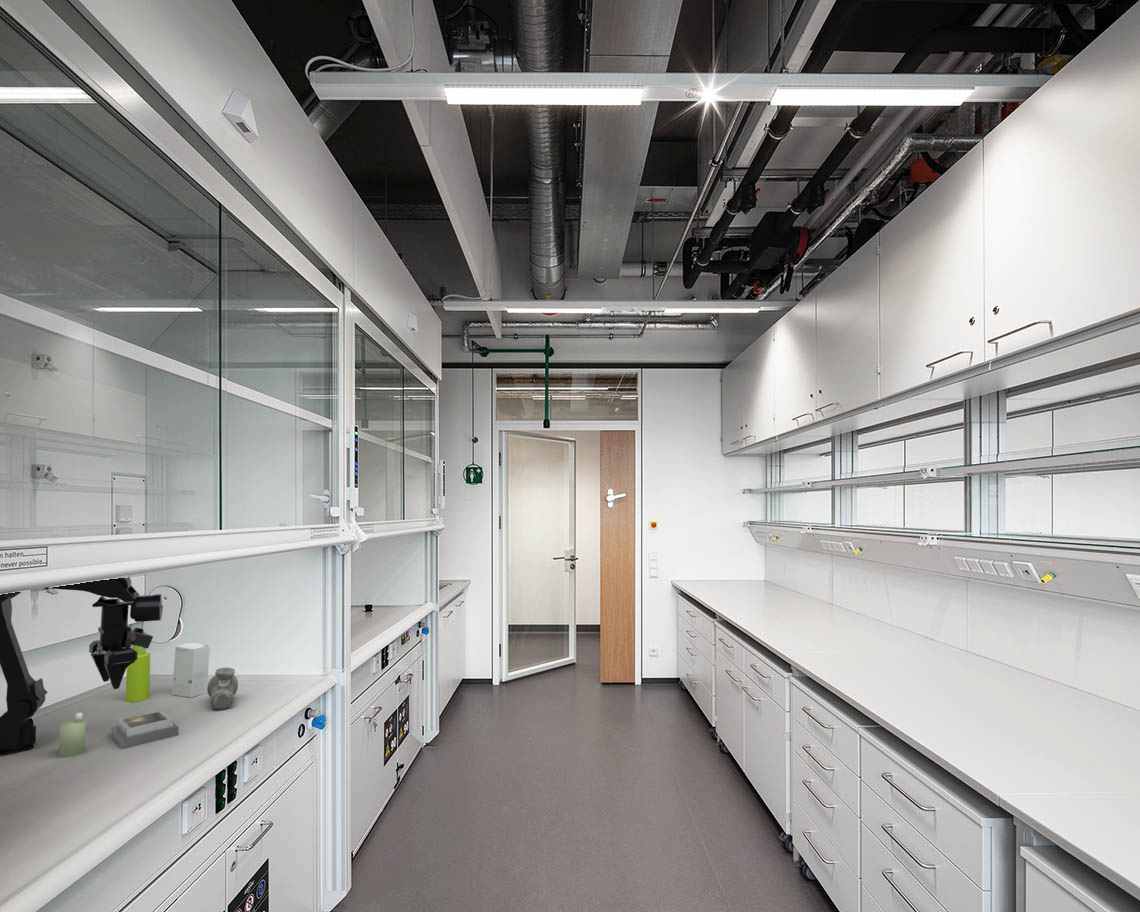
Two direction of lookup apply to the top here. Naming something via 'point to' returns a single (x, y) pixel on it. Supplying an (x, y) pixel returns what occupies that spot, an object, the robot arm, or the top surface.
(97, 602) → the robot arm
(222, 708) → the pipe fitting
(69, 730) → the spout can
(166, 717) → the grey square holder
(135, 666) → the soap dispenser
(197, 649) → the skincare box
